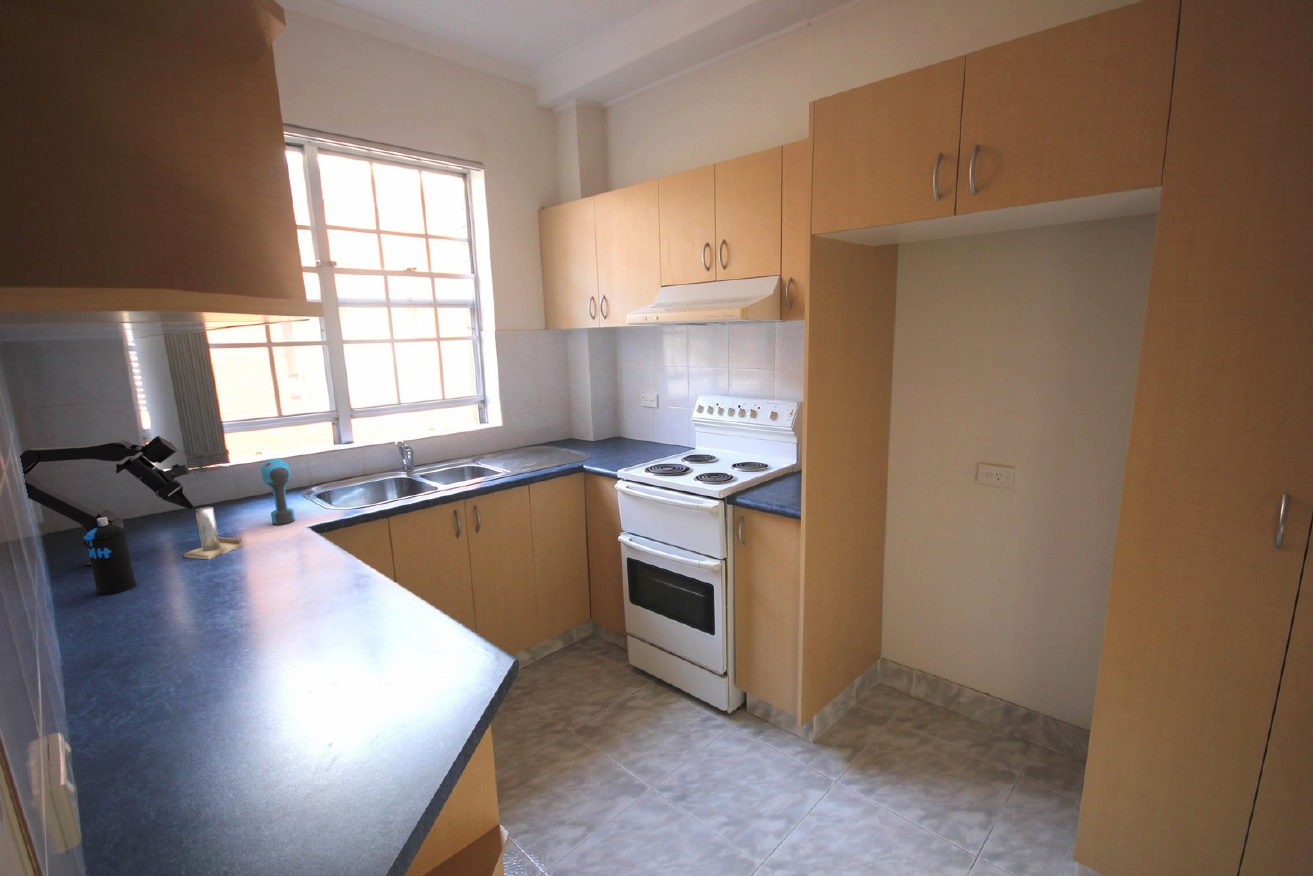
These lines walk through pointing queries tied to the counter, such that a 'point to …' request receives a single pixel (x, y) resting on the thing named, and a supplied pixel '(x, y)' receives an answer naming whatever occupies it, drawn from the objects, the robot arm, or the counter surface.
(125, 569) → the aerosol can
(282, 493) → the power drill
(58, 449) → the robot arm
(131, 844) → the counter surface
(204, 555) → the wooden tray
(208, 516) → the rod
